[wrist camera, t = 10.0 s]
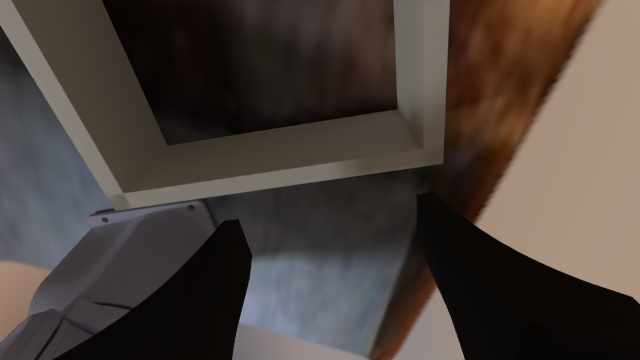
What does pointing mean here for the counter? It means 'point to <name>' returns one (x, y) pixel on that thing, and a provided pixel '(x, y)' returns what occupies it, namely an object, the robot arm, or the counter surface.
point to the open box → (230, 151)
